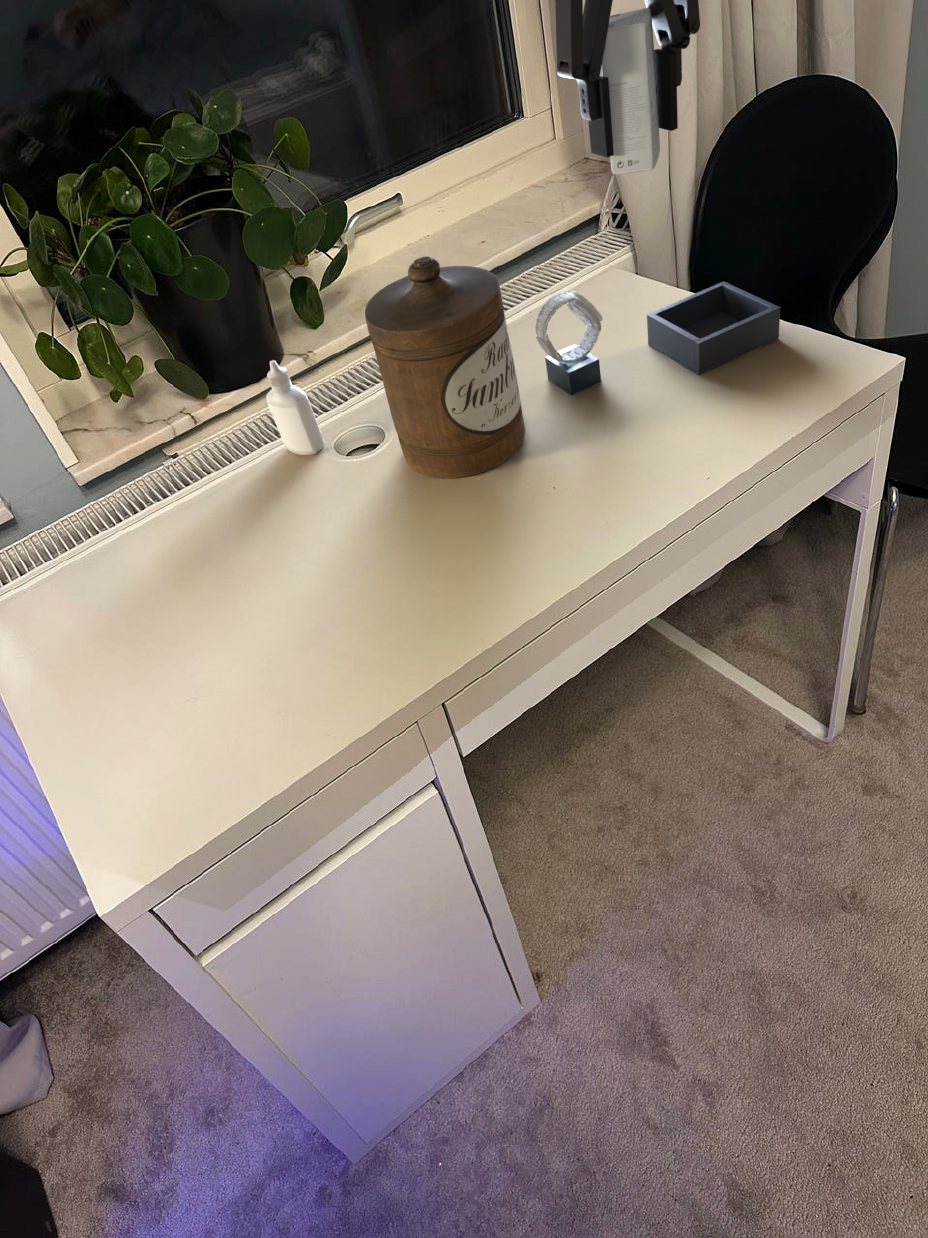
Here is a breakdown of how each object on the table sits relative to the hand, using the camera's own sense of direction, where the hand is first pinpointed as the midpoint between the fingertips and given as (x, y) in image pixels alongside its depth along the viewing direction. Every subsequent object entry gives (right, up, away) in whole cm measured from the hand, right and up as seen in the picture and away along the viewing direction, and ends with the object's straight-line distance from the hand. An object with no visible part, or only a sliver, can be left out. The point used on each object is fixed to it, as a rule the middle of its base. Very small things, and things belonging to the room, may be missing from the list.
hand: (634, 140), depth 82 cm
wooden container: (-16, -26, +18) cm, 36 cm away
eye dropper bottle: (-37, -25, +25) cm, 51 cm away
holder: (+14, -12, +23) cm, 30 cm away
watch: (-3, -17, +23) cm, 29 cm away
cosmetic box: (0, -2, +2) cm, 2 cm away
